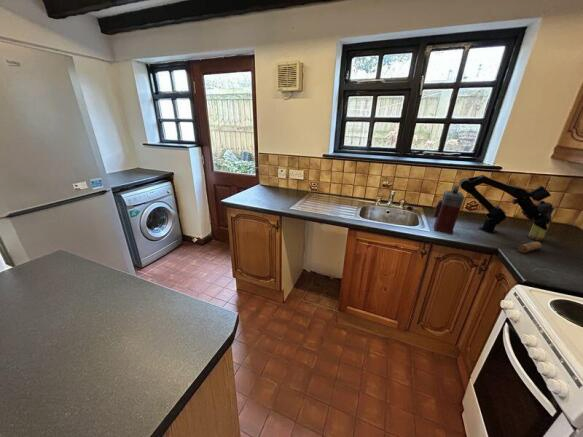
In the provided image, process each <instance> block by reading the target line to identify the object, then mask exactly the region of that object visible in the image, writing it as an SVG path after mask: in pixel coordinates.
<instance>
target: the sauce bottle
mask: <svg viewBox="0 0 583 437" xmlns="http://www.w3.org/2000/svg"><path fill="white" fill-rule="evenodd" d="M555 209H556V208H555V206H553V210H552V211H545V212H543V213H542V214H540V215H546V216H547V217H549V219H550V221H549V222H546V225H547V230H544V229H542V228H540V227H539V226H536V225H535V224H534V223H532V226H531V228H530V231H529V233H528V236H527V237H528V238H529V239H531V240H533V241H536V242H540V241H543V239H544V238H545V237H546V233H547V232H548V229H549V227H550V226H551V223H552V214H553V212H554V211H555Z"/></svg>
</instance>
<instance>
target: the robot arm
mask: <svg viewBox="0 0 583 437" xmlns="http://www.w3.org/2000/svg"><path fill="white" fill-rule="evenodd" d="M482 184H484V185H487V186H489V187H493V188H495V189H497V190H500V191H503V192H504V193H506V194H507V195H510V196H511V197H513V198H512V201H511V204H512V205H518V206H519V207H520V209H521V213H522V215H523V216H524V217H525V218H527V219H528V220H530V221H531V222H532V224H535V225H536V226H539V227H540V228H542V229H544V230H547V225H546V222H549V221H550V219H549V217H547V216H546V215H540V214H542V213H543V212H545V211H552V210H553V207H554V206H553V205H554V204H552V203H551V202H548V201H545V199H547V198H549V197H551V195H552V194H551V193H550V191H548V190H547V189H546V188H545V187H544V186H543V185H540V186H538V187H536V188H534V189H532V190H528V189H524V188H522V187H521V186H519V185H515V184H508V183H505V182H502V181H500V180H497V179H494V178H492V177H489V176H486V175H485V174H481V175H478V176H471V177H467V178H465V177H464V178H461V179H460V180H459V182H458V185H459V188H461V190H463V191H464V192H466V193H467V194H469V195H471V196H472V197H473V198H474V199H475V200H476V201H477V202H478V203H480V204H481V206H483V207H484V208H485V209H486V211H487V212H488V213H486V214H485V215H484V218H485V220H484V222H483V225H482V226H481V227H479V228H478V229H479V230H482V231H484V232H486V233H489V234H492V233H497V230H496V227H497V225H500V224H501V223H502V222H503V221H505V220H506V218H507V215H506V211H505V210H504V209H503V208H501V207H500V205H498V204H497V205H493V203H491V201H489V200H488V199H487V198H486V197H485V196H484V195H483V194H482V193H481V192H480V191H479V190H478V189H477V188H476V187H477V186H480V185H482ZM535 202H538V203H537V204H536V203H535ZM553 211H554V210H553ZM547 231H548V230H547Z"/></svg>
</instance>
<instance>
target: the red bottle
mask: <svg viewBox="0 0 583 437" xmlns="http://www.w3.org/2000/svg"><path fill="white" fill-rule="evenodd" d="M459 190H460V185H459V184H454V185H453V187H452V190H444V192H443V195H442V198H441V199H438V201H437V203H436V204H435V208H434V211H433V218H435V221H434V224H433V230H434V232H437V233H443V234H447V235H452V234H453V231H454V229H455V225H456V223H457V220H458V217H459V214H460V212H461V211H460V210H461V208H462V205H463V204H464V203H463V202H464V199H465V196H464V194H463V193H462V192H460V191H459Z"/></svg>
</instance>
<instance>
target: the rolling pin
mask: <svg viewBox="0 0 583 437" xmlns="http://www.w3.org/2000/svg"><path fill="white" fill-rule="evenodd" d="M541 248H542V244H541V243H540V241H532V242H528V243H525V244H519V245H518V247H517V251H519V252H520V253H523V254H524V253H525V254H526V253H528V252H533V251H536V250H540V249H541Z"/></svg>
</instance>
